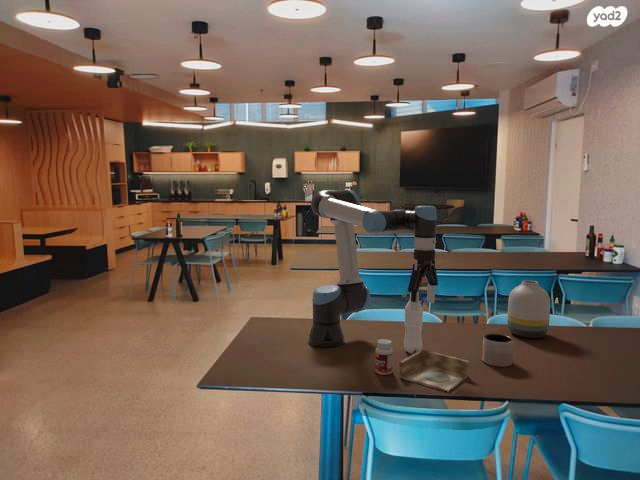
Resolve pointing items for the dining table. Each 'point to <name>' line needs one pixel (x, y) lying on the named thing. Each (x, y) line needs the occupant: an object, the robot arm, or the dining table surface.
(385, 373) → the pill bottle
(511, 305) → the vase
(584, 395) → the dining table surface
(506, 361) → the planter
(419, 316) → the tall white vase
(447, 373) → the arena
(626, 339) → the dining table surface
